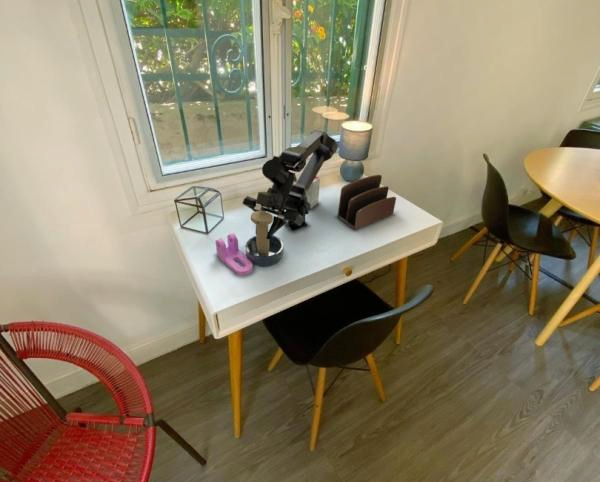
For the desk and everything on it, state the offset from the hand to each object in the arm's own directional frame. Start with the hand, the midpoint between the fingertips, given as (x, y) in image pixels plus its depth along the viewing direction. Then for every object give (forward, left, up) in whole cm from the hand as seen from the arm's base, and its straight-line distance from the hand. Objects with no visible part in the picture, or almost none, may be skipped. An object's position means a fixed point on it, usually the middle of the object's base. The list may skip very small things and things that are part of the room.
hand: (261, 237), depth 100 cm
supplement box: (-31, -19, -8) cm, 37 cm away
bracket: (+8, -2, -8) cm, 12 cm away
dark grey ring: (-1, -1, -8) cm, 8 cm away
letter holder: (-45, -1, -8) cm, 45 cm away
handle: (0, 0, -8) cm, 8 cm away
